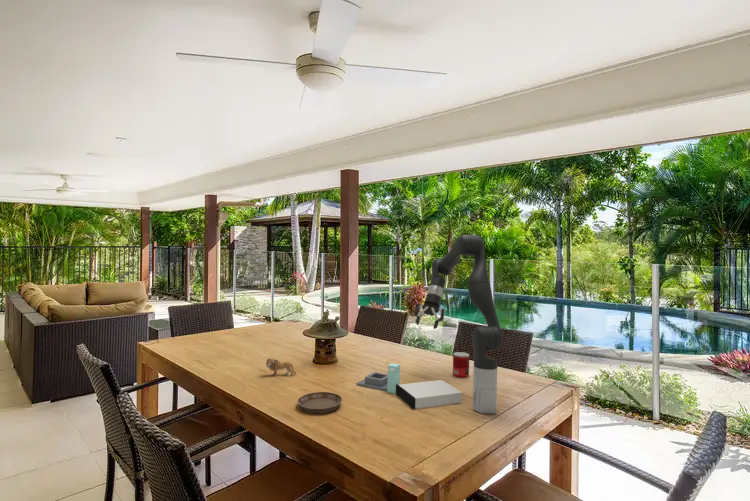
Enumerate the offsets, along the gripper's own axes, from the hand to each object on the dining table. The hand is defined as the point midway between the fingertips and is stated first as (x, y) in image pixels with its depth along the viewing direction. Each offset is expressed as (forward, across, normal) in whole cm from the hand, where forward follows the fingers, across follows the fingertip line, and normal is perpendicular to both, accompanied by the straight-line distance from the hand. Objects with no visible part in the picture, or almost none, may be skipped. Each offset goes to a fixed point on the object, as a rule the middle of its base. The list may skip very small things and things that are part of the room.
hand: (425, 326), depth 204 cm
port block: (+32, -15, +1) cm, 35 cm away
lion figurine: (+42, -62, -4) cm, 75 cm away
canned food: (+14, +18, +25) cm, 34 cm away
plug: (+34, -5, -5) cm, 35 cm away
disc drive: (+34, +11, -7) cm, 36 cm away
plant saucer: (+51, -26, -28) cm, 63 cm away
